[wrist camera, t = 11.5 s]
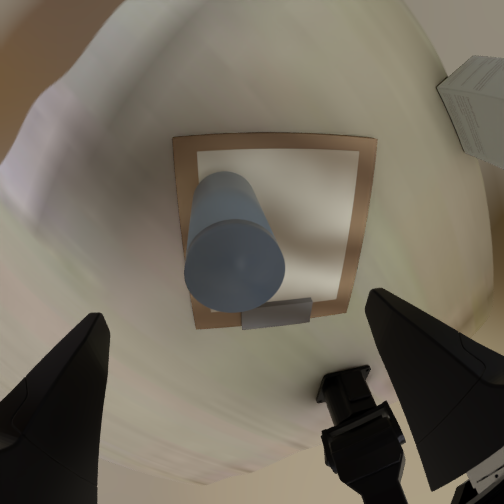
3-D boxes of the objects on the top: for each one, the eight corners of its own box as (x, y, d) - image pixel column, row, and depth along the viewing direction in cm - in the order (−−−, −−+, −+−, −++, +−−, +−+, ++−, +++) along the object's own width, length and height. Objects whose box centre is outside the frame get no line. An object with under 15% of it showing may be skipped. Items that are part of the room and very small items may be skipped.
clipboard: (344, 308, 27) (349, 317, 26) (196, 324, 25) (196, 335, 24) (373, 138, 19) (382, 141, 18) (173, 137, 17) (171, 139, 16)
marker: (251, 218, 20) (282, 307, 12) (195, 221, 20) (191, 315, 12) (251, 164, 18) (287, 225, 10) (191, 167, 18) (178, 232, 10)
